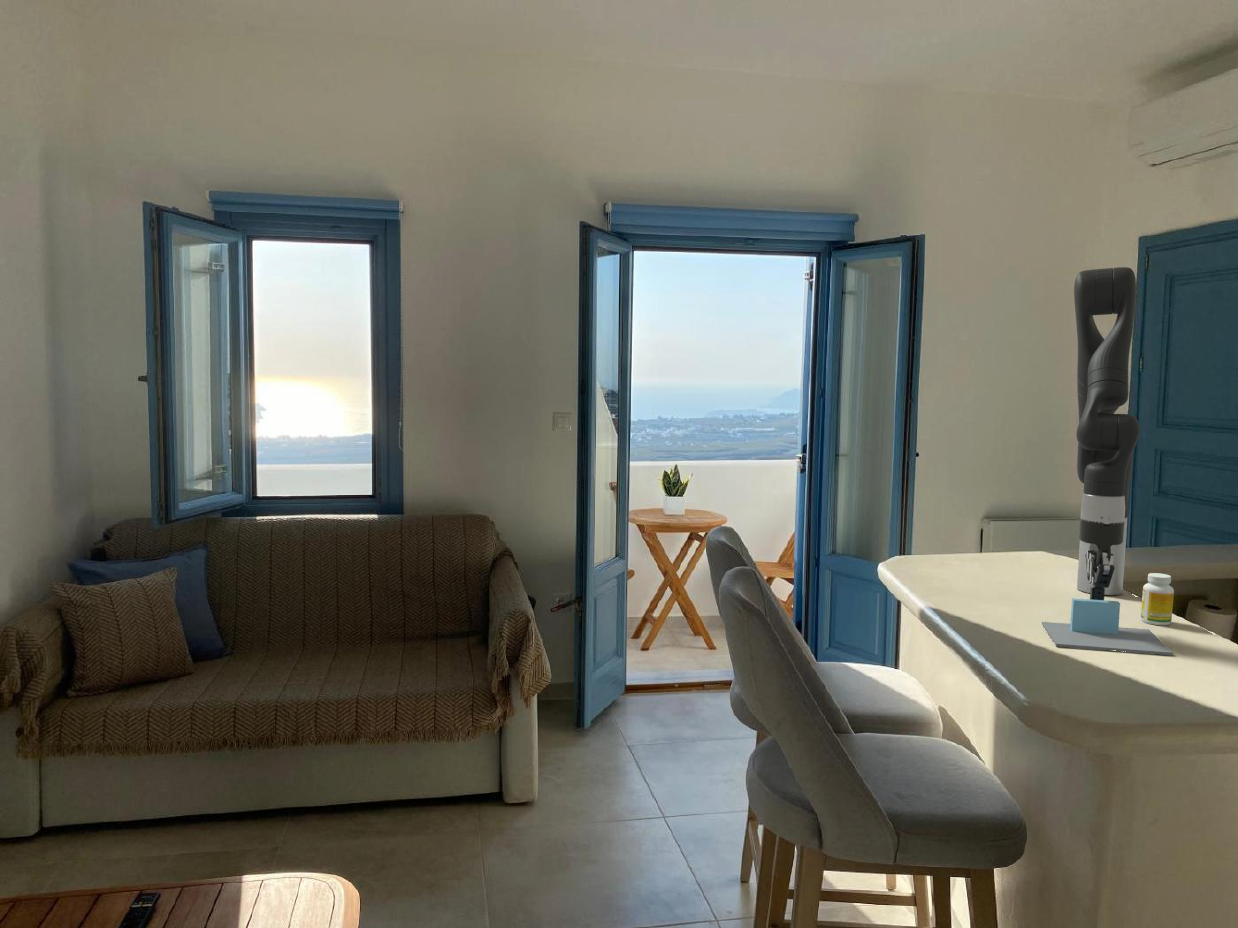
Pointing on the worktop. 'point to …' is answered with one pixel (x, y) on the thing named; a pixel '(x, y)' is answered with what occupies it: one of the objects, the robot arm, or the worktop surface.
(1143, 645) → the mat
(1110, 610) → the block
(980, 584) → the worktop surface
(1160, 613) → the supplement bottle
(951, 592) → the worktop surface
